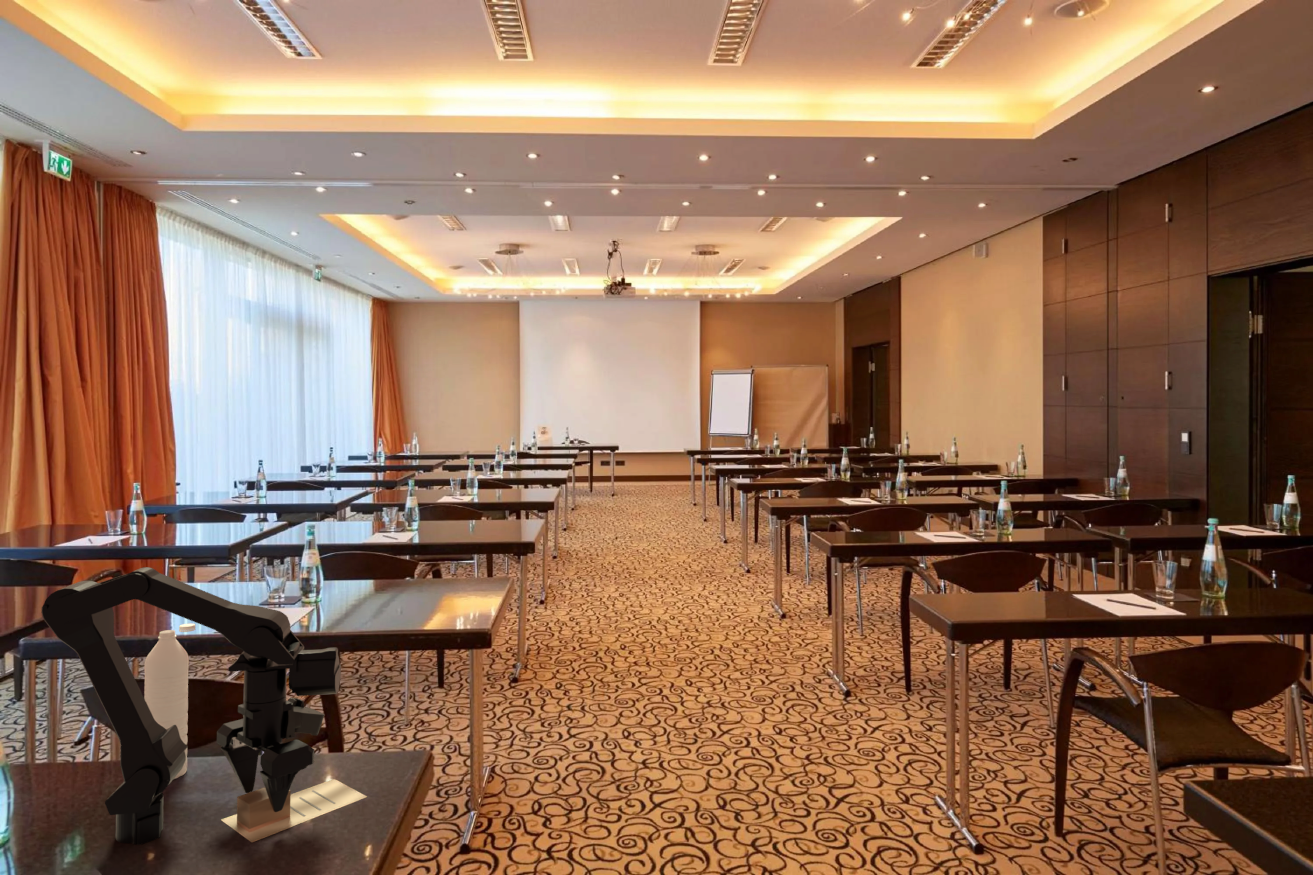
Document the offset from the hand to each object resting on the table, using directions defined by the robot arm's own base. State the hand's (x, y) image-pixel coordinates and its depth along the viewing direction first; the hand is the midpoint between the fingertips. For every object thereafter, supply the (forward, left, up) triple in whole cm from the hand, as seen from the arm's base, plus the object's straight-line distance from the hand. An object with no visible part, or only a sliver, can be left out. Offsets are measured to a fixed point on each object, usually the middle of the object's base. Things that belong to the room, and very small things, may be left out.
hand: (263, 801), depth 116 cm
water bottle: (-32, -1, -5) cm, 32 cm away
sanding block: (0, 0, -3) cm, 3 cm away
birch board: (0, +5, -4) cm, 7 cm away
